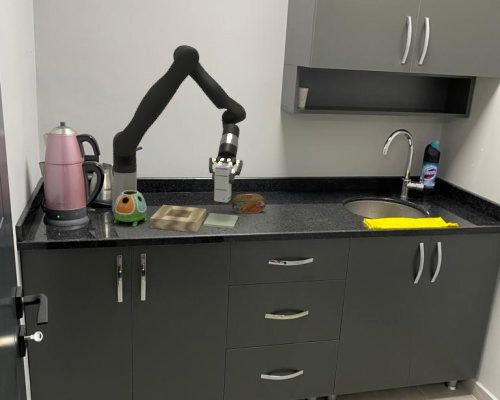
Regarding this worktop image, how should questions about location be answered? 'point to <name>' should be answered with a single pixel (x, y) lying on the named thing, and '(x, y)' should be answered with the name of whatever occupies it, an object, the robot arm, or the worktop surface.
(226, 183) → the syrup box
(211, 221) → the mat
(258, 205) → the tin
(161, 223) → the socket block
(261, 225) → the worktop surface
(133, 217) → the turtle holder
